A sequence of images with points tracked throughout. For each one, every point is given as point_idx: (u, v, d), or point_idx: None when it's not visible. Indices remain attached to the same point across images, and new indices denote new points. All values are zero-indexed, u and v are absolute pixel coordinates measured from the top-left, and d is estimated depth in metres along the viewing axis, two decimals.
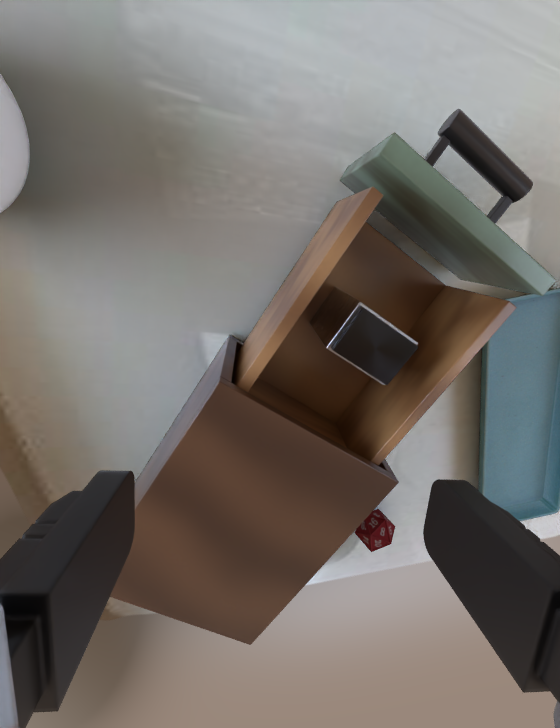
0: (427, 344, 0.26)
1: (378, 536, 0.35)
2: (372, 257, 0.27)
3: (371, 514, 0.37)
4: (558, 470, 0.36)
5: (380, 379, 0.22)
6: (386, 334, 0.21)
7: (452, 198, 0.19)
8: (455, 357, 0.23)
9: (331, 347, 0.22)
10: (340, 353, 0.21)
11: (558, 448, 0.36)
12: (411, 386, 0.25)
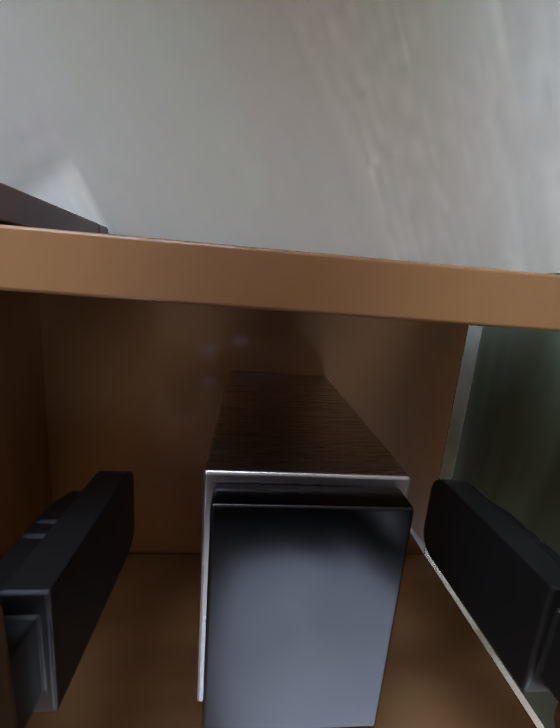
0: None
1: None
2: (409, 410, 0.13)
3: None
4: None
5: (209, 705, 0.06)
6: (364, 625, 0.06)
7: None
8: None
9: (216, 490, 0.05)
10: (216, 537, 0.05)
11: None
12: None
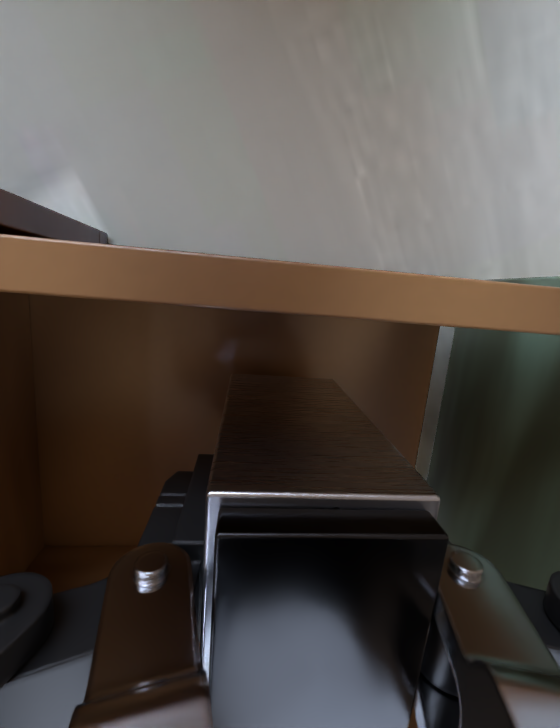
0: None
1: None
2: (385, 407, 0.14)
3: None
4: None
5: None
6: (389, 667, 0.05)
7: None
8: None
9: (220, 517, 0.05)
10: (221, 572, 0.04)
11: None
12: None
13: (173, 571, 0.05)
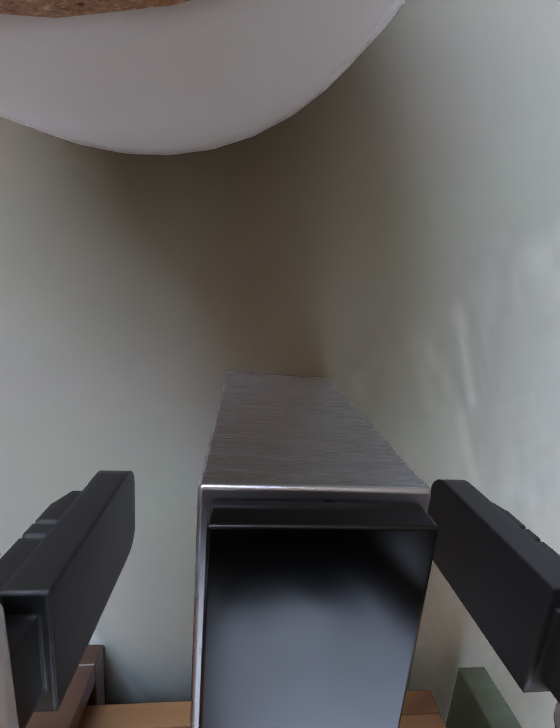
0: None
1: None
2: None
3: None
4: None
5: None
6: (381, 659, 0.05)
7: None
8: None
9: (212, 508, 0.05)
10: (213, 562, 0.05)
11: None
12: None
13: None
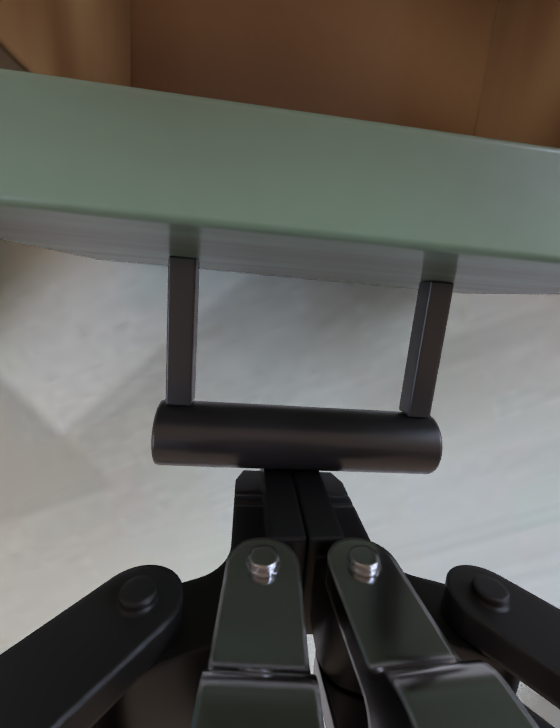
0: None
1: None
2: None
3: None
4: None
5: None
6: None
7: None
8: None
9: None
10: None
11: None
12: None
13: (284, 565, 0.06)
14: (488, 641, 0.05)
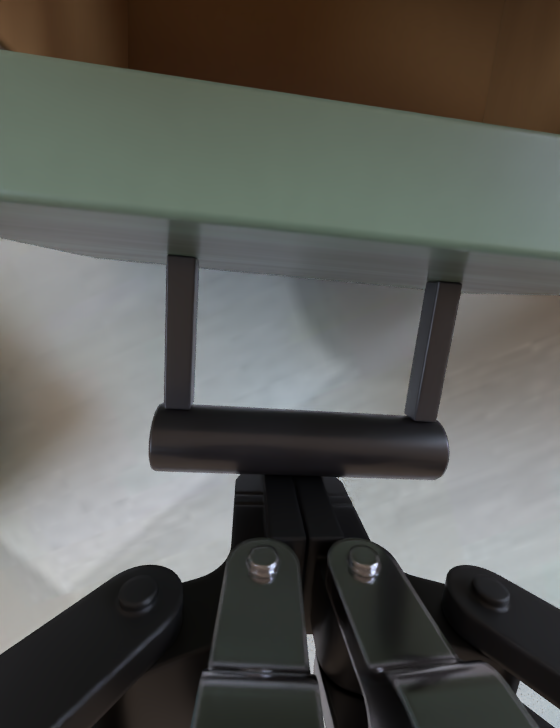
0: None
1: None
2: None
3: None
4: None
5: None
6: None
7: None
8: None
9: None
10: None
11: None
12: None
13: (284, 565, 0.06)
14: (488, 641, 0.05)
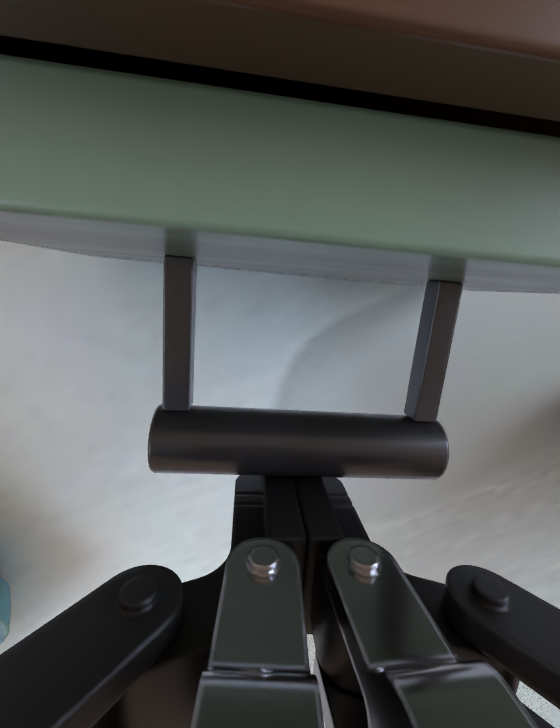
0: None
1: None
2: None
3: None
4: None
5: None
6: None
7: None
8: None
9: None
10: None
11: None
12: None
13: (284, 565, 0.06)
14: (488, 641, 0.05)
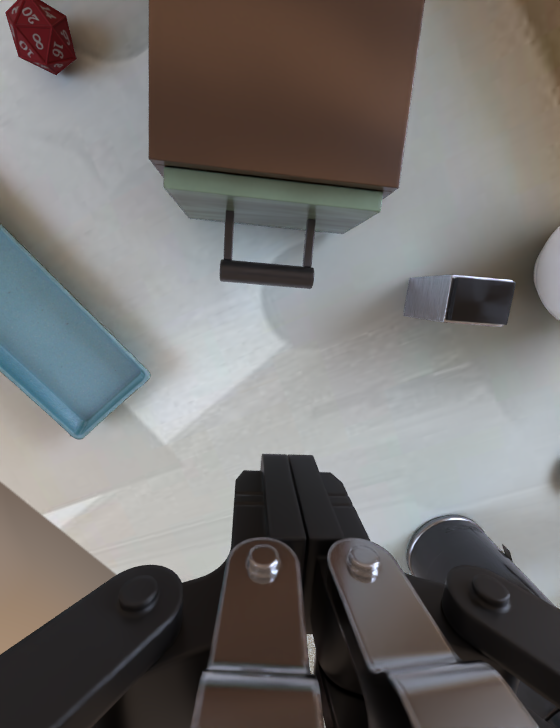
0: None
1: (39, 30, 0.23)
2: None
3: (65, 62, 0.25)
4: None
5: (467, 279, 0.25)
6: (481, 315, 0.26)
7: (308, 195, 0.21)
8: None
9: (512, 283, 0.26)
10: (508, 283, 0.25)
11: None
12: None
13: (285, 565, 0.06)
14: (488, 641, 0.05)
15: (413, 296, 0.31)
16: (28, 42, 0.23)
